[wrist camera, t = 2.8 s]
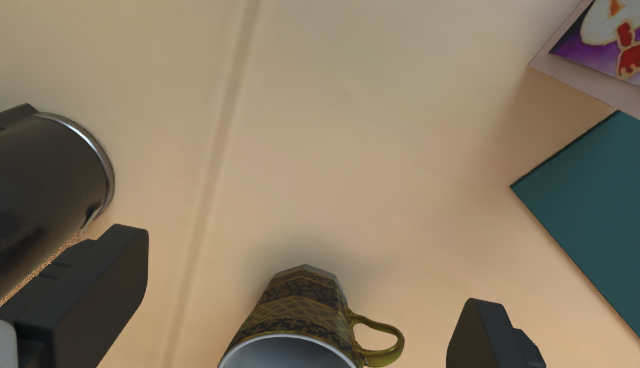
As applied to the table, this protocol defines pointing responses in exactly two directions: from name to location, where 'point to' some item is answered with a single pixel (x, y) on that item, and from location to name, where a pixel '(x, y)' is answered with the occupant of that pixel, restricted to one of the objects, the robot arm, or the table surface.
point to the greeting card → (598, 53)
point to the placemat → (595, 208)
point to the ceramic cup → (305, 327)
